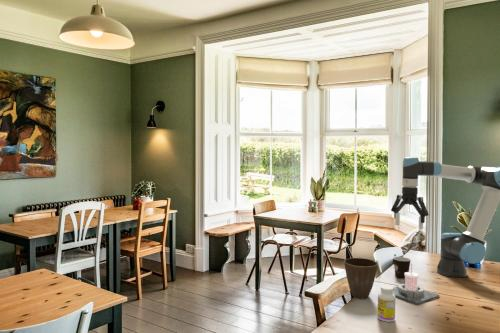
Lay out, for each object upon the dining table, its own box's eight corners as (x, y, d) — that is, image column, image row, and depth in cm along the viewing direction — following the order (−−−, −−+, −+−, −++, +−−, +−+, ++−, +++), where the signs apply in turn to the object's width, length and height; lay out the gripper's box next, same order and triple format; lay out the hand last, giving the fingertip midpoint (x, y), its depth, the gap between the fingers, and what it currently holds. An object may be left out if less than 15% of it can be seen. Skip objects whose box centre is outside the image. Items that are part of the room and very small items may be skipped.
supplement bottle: (374, 315, 159) (375, 284, 158) (390, 315, 159) (391, 284, 159) (381, 322, 152) (382, 290, 152) (397, 322, 153) (398, 290, 152)
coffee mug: (411, 280, 206) (412, 261, 206) (394, 278, 208) (395, 260, 208) (407, 273, 218) (407, 256, 218) (391, 272, 220) (391, 255, 219)
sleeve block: (404, 286, 197) (405, 279, 197) (439, 297, 182) (439, 289, 182) (382, 292, 186) (382, 285, 186) (417, 304, 172) (417, 297, 171)
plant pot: (359, 304, 171) (360, 268, 171) (336, 293, 185) (337, 259, 184) (383, 298, 178) (384, 264, 178) (360, 288, 191) (361, 256, 191)
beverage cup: (414, 290, 187) (415, 261, 187) (420, 295, 181) (421, 265, 181) (401, 290, 187) (402, 261, 187) (407, 295, 181) (408, 265, 181)
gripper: (385, 185, 211) (384, 224, 212) (428, 188, 191) (427, 231, 191) (393, 184, 216) (392, 222, 216) (436, 188, 195) (435, 230, 196)
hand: (408, 227), depth 204 cm, fingers open, 13 cm apart
